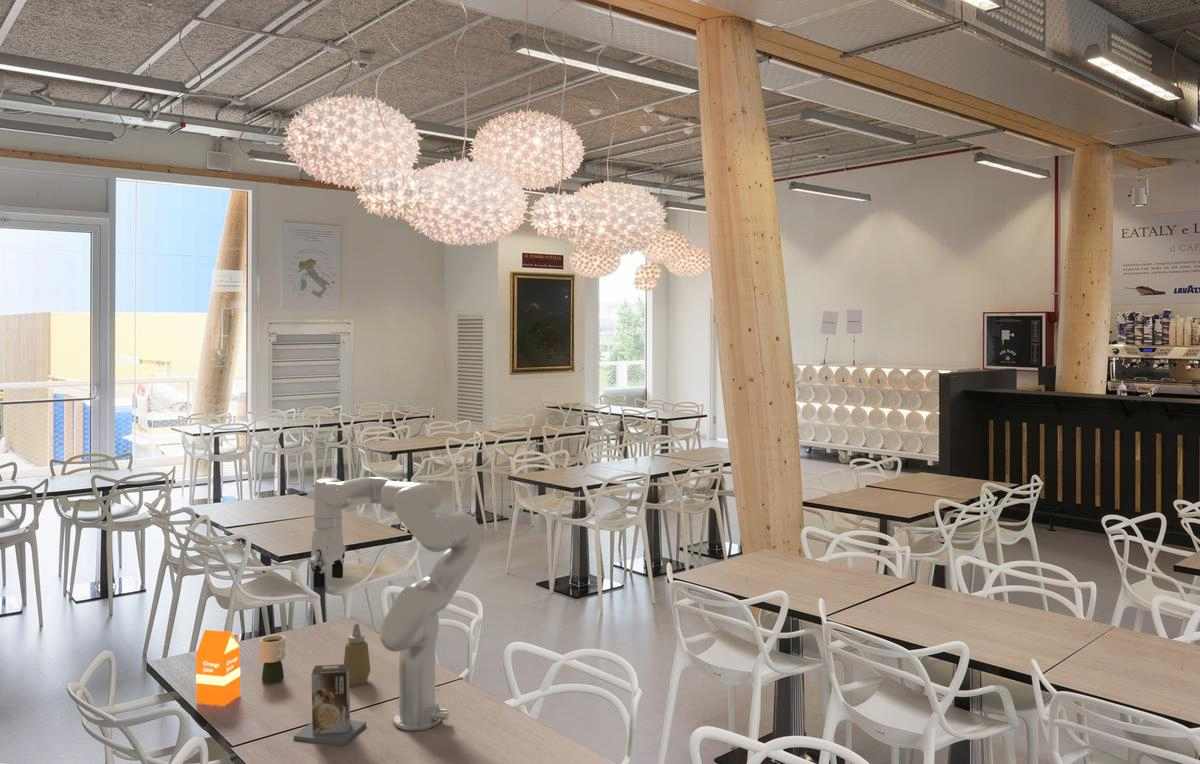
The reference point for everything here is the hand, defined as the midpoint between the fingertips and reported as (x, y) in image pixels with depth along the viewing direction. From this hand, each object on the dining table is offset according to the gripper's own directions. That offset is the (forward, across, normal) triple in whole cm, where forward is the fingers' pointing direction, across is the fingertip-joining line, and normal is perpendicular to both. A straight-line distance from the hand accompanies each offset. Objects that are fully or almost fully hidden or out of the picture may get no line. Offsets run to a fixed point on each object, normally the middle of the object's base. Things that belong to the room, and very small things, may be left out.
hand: (328, 582), depth 247 cm
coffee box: (+34, +18, +11) cm, 40 cm away
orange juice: (+35, +7, -31) cm, 47 cm away
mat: (+34, +18, +11) cm, 40 cm away
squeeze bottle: (+34, -14, +1) cm, 37 cm away
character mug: (+34, -9, -24) cm, 43 cm away
